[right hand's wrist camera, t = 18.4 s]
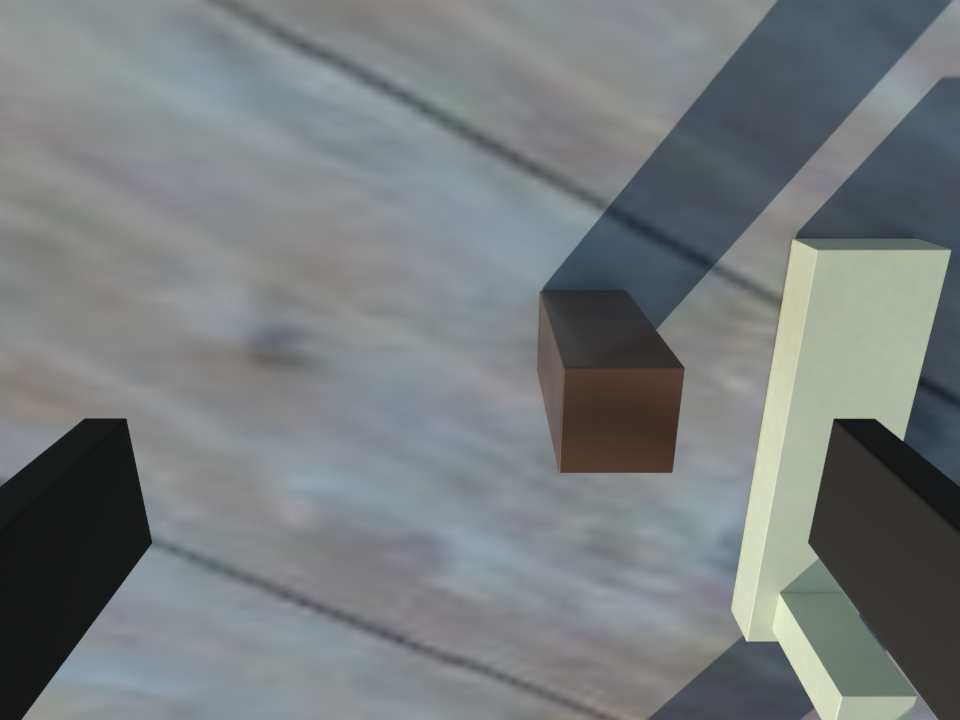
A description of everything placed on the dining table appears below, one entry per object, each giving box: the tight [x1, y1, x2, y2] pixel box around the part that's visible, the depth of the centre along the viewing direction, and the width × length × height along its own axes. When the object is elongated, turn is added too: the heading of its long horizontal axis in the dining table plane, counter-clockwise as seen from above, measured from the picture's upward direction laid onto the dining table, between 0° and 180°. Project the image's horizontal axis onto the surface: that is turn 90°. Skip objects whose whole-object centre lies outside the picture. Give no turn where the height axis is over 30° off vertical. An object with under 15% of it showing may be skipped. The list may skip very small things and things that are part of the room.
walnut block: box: [537, 291, 685, 473], centre depth 34 cm, size 5×5×12 cm
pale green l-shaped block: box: [731, 238, 952, 720], centre depth 37 cm, size 26×7×11 cm, turn 0°
